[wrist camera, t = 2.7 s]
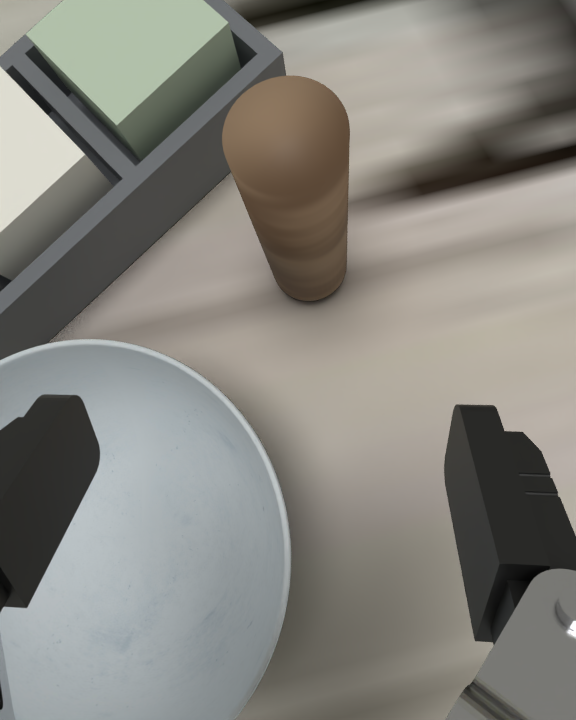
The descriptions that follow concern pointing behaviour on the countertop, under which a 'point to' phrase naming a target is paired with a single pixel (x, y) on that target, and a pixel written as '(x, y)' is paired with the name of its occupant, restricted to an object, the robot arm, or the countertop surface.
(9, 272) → the ivory key
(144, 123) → the sage key
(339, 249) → the walnut stylus
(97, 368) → the chinaware
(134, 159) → the keypad
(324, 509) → the countertop surface
